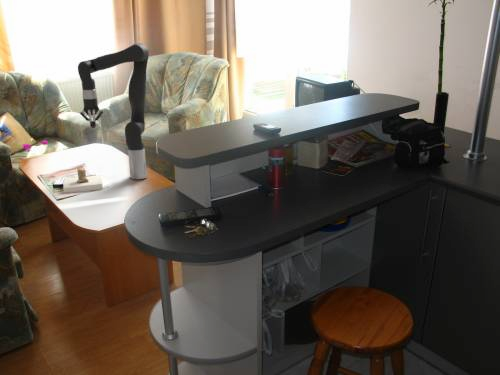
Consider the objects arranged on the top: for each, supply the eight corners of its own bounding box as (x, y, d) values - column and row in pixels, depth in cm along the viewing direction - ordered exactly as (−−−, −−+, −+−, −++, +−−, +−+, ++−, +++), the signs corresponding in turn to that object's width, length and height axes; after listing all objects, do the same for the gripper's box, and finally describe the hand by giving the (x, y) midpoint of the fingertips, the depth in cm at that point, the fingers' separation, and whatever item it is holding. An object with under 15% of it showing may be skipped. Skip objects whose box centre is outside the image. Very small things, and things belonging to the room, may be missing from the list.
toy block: (28, 156, 332) (26, 145, 330) (24, 154, 336) (23, 144, 334) (50, 152, 342) (48, 142, 339) (46, 151, 346) (45, 140, 344)
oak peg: (87, 184, 278) (85, 167, 274) (87, 187, 274) (85, 170, 271) (79, 185, 276) (77, 168, 273) (79, 188, 273) (77, 170, 269)
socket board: (100, 180, 285) (100, 175, 284) (102, 189, 271) (102, 183, 270) (64, 183, 279) (63, 178, 278) (64, 193, 265) (63, 187, 264)
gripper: (101, 95, 283) (104, 125, 289) (77, 97, 279) (80, 127, 285) (102, 97, 276) (105, 128, 282) (77, 99, 272) (81, 130, 278)
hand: (93, 127), depth 283 cm, fingers closed
